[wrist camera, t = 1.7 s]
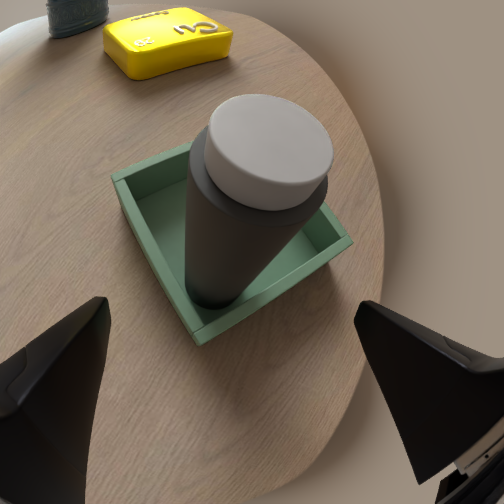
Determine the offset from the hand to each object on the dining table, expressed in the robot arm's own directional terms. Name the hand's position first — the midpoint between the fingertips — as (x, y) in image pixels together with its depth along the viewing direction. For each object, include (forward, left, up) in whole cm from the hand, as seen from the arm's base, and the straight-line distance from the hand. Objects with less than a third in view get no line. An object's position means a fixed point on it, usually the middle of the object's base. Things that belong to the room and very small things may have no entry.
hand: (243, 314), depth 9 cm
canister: (+61, -2, -11) cm, 62 cm away
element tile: (+36, -12, -11) cm, 39 cm away
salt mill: (+3, -2, -10) cm, 10 cm away
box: (+6, -5, -10) cm, 13 cm away
